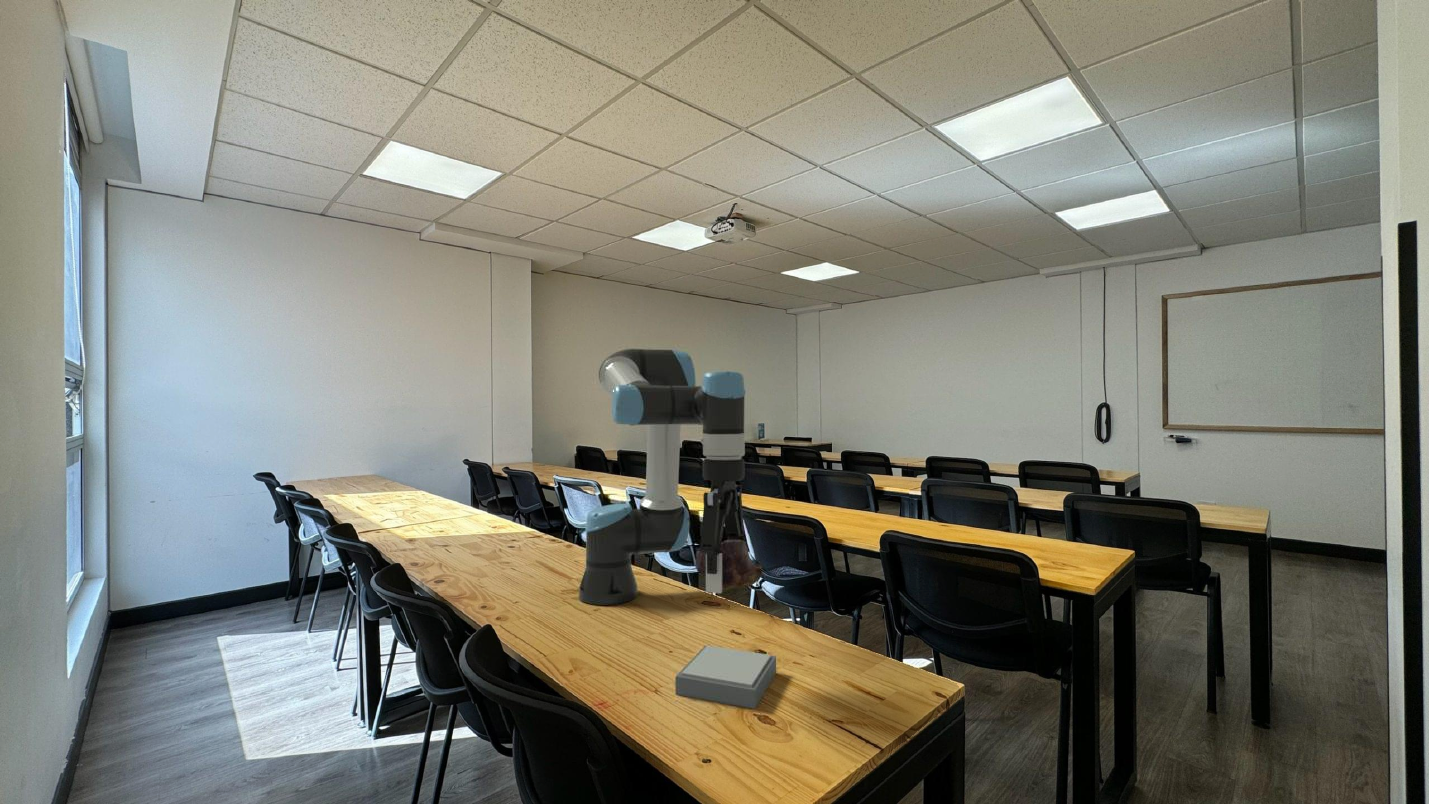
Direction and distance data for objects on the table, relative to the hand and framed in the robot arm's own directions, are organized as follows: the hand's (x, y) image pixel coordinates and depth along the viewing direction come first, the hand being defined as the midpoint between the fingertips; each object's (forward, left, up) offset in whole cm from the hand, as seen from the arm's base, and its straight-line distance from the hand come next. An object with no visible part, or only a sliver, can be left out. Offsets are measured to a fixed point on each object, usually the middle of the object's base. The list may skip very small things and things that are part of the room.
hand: (723, 584), depth 102 cm
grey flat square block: (0, +1, -17) cm, 17 cm away
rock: (0, 0, -1) cm, 1 cm away
